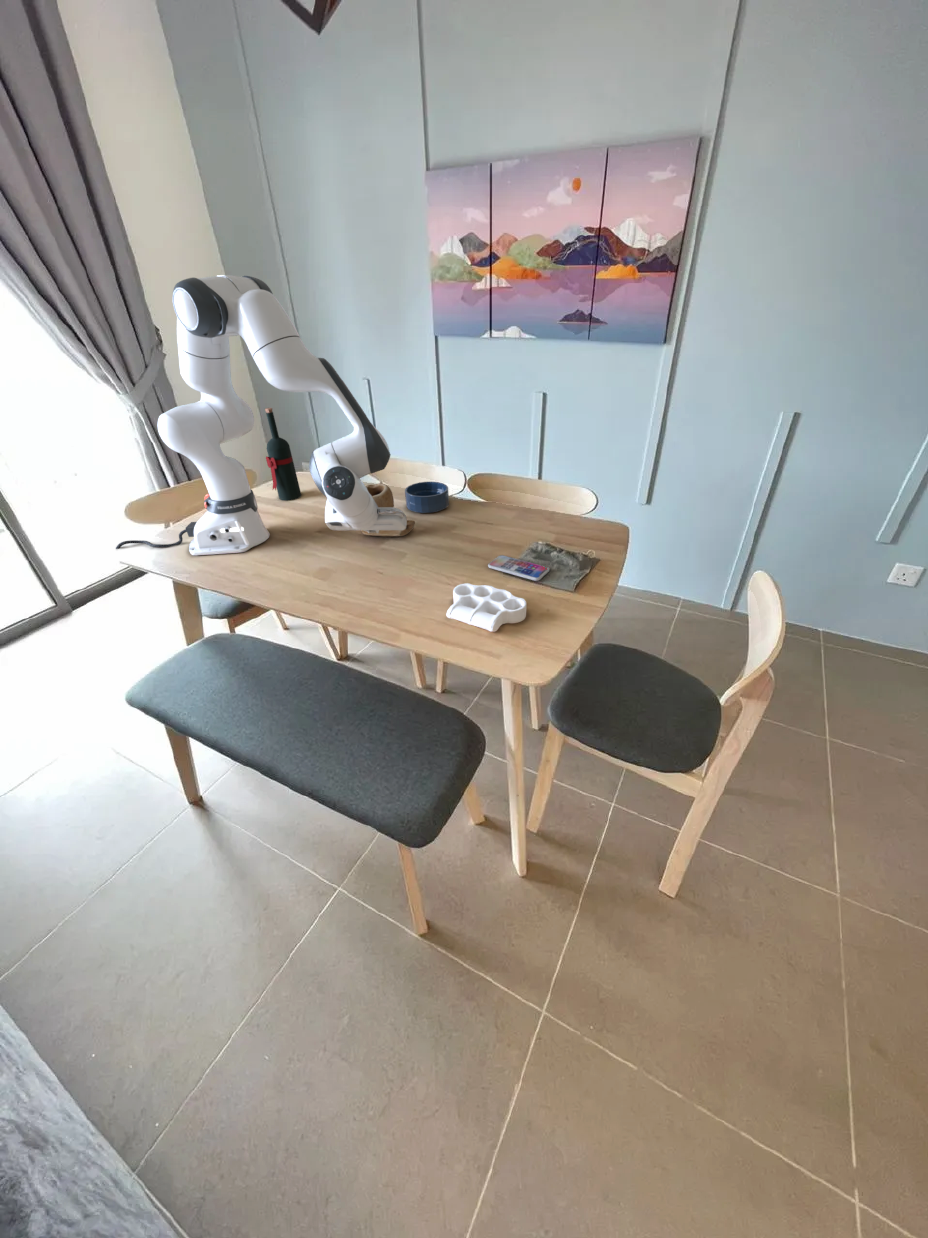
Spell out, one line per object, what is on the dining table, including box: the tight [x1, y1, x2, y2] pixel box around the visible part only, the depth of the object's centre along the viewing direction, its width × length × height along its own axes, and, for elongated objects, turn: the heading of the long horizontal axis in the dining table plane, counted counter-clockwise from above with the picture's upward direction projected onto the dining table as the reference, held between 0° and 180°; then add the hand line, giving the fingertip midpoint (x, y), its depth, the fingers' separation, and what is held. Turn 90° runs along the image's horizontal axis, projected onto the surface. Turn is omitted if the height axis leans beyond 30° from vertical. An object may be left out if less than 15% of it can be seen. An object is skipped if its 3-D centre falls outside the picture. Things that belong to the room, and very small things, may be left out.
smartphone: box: [487, 554, 550, 582], centre depth 127 cm, size 7×1×15 cm
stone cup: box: [361, 482, 416, 537], centre depth 144 cm, size 15×12×15 cm
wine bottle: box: [264, 407, 302, 502], centre depth 168 cm, size 8×10×30 cm
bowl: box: [404, 481, 450, 514], centre depth 164 cm, size 14×14×6 cm
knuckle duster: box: [445, 582, 527, 633], centre depth 111 cm, size 3×18×15 cm
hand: (374, 530), depth 134 cm, fingers closed
